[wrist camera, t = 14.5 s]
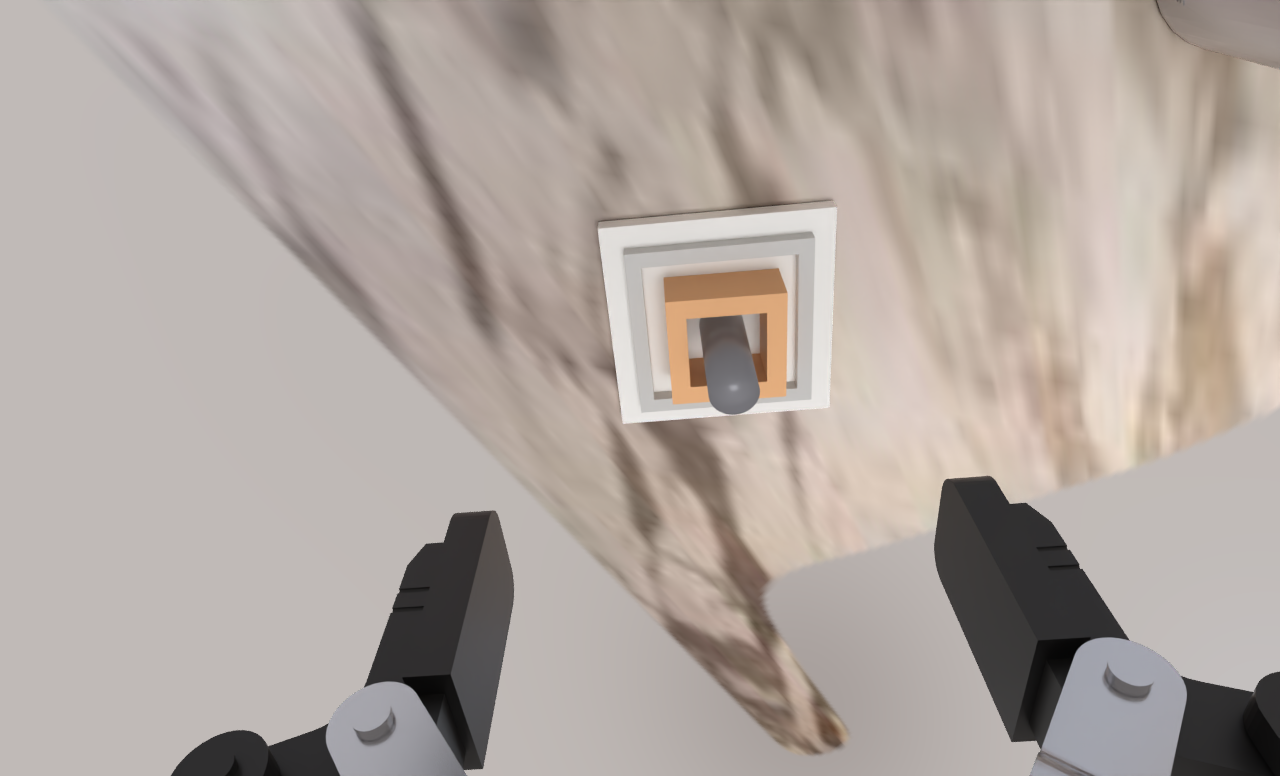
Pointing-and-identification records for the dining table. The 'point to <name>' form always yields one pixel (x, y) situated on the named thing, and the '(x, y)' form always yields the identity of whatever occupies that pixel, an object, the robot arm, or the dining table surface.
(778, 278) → the ring
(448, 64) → the dining table surface
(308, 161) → the dining table surface
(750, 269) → the post base
